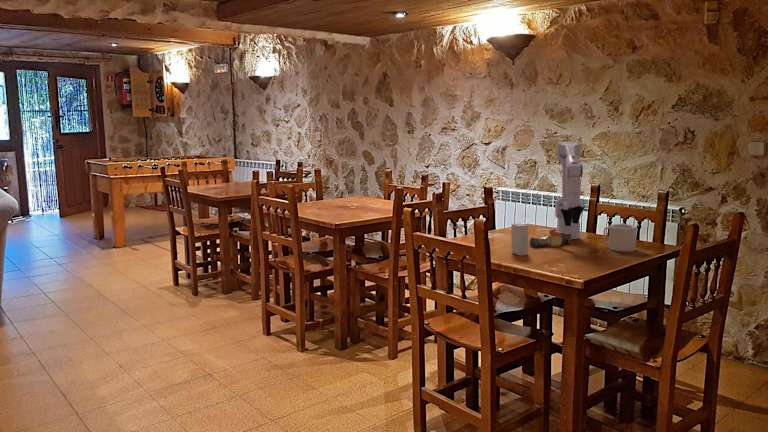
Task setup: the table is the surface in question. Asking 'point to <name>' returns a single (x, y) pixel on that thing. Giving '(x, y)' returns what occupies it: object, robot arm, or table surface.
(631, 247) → the mug
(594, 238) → the table surface
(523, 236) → the skincare box
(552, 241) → the valve body
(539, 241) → the pipe
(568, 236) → the lever
